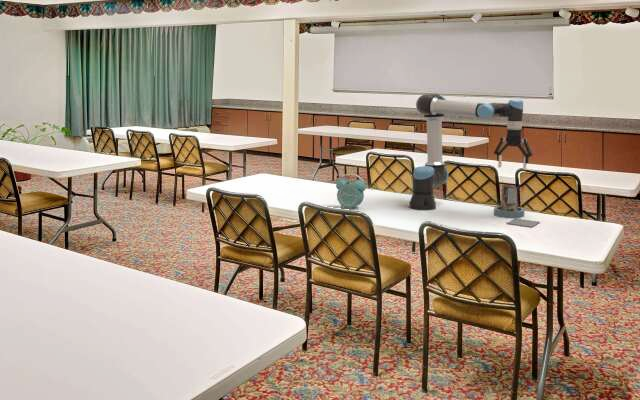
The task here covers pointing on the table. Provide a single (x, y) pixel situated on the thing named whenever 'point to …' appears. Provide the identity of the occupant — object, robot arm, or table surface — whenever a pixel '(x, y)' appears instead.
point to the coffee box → (509, 198)
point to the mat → (523, 222)
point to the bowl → (508, 213)
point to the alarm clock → (350, 192)
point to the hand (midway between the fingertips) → (511, 168)
